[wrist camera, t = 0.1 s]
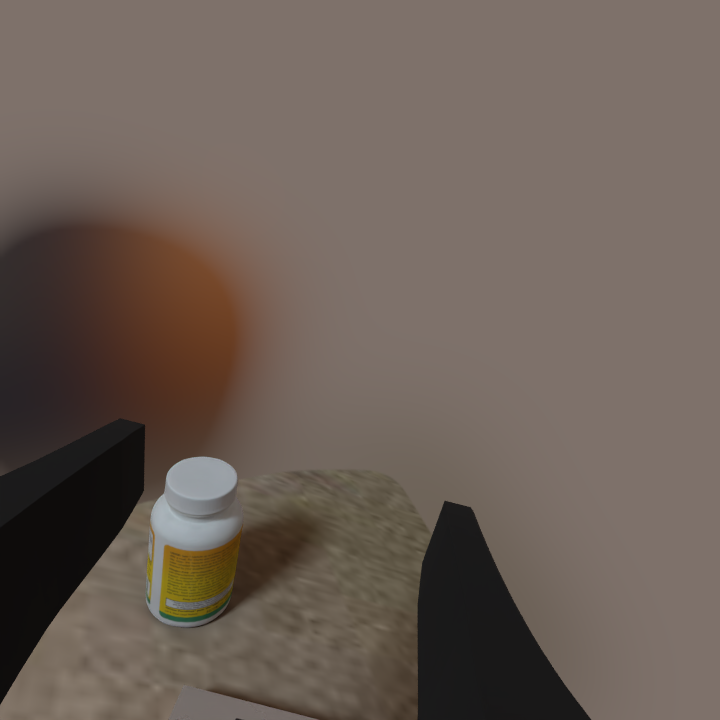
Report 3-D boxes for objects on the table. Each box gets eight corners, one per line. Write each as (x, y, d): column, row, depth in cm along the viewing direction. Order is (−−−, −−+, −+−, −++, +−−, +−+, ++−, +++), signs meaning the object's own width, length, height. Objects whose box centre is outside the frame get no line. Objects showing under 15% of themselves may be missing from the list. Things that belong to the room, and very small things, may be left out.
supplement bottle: (128, 593, 34) (133, 469, 31) (198, 552, 39) (210, 439, 35) (180, 648, 32) (192, 520, 28) (249, 598, 36) (268, 481, 32)
